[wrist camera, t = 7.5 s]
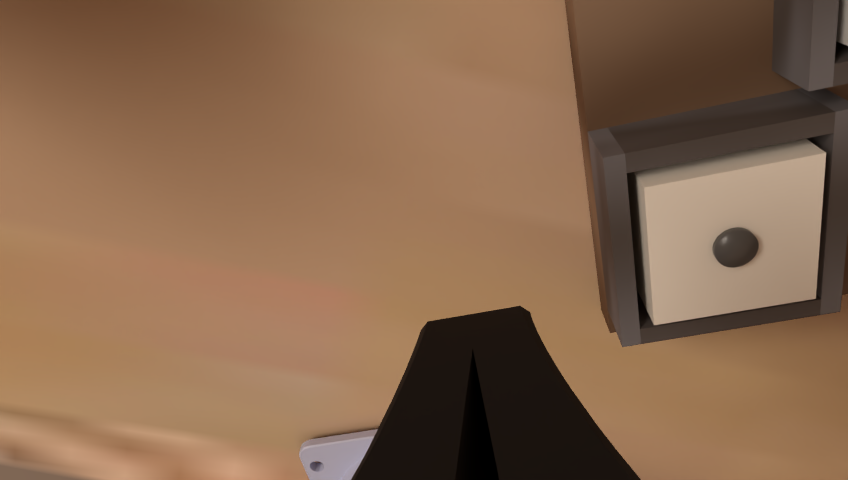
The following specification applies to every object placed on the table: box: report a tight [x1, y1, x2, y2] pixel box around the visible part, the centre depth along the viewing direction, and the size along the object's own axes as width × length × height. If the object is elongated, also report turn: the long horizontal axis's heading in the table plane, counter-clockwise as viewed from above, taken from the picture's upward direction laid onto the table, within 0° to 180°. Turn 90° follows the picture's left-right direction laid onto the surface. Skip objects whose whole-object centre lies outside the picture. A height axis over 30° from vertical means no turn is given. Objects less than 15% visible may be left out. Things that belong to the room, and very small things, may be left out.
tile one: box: [627, 138, 826, 325], centre depth 17 cm, size 4×4×2 cm
